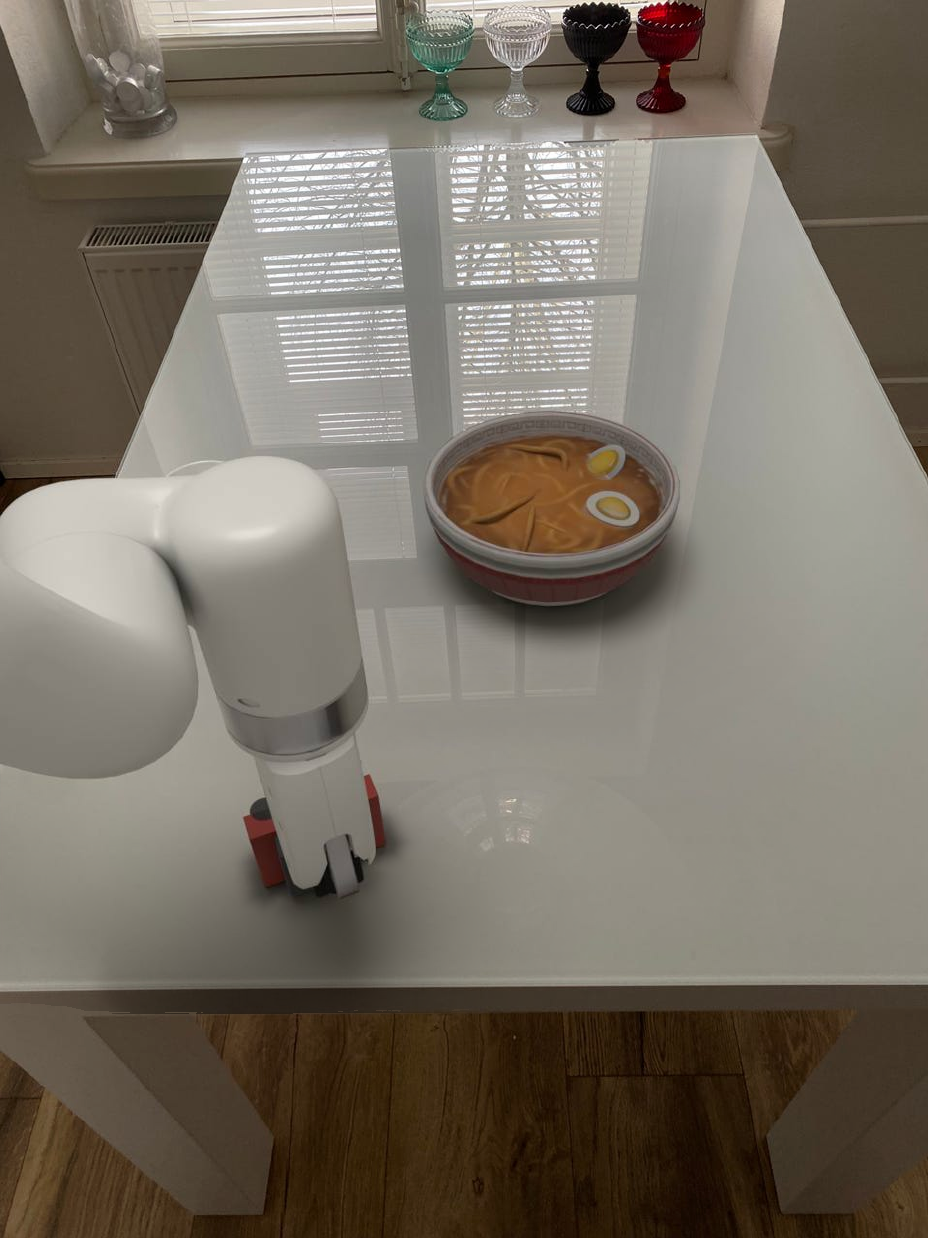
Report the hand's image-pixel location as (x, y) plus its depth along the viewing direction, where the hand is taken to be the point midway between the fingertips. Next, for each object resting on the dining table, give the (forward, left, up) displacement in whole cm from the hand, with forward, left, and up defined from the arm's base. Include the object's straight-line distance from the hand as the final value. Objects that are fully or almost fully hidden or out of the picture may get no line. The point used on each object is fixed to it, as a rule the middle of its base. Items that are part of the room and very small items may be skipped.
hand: (337, 879), depth 62 cm
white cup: (+29, +29, -6) cm, 41 cm away
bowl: (+41, 0, -6) cm, 41 cm away
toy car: (+4, +4, -5) cm, 7 cm away
